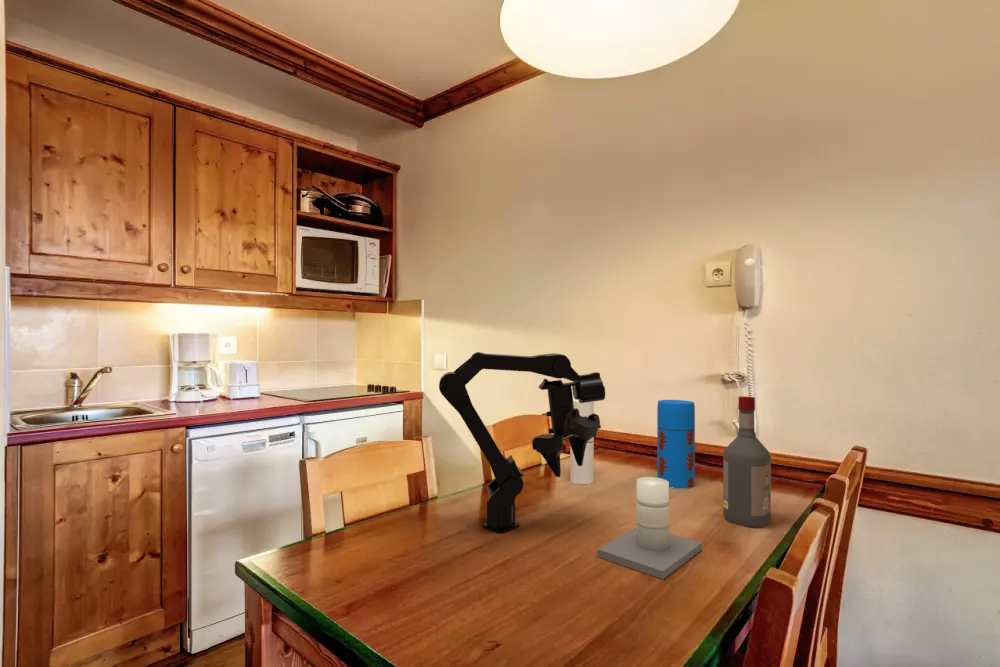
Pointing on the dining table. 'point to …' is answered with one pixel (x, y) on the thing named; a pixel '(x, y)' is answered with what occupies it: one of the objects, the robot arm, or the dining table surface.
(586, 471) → the cylindrical container
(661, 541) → the tumbler stack
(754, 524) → the liquor
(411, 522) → the dining table surface
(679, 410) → the thermos
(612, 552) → the shelf board
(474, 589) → the dining table surface
